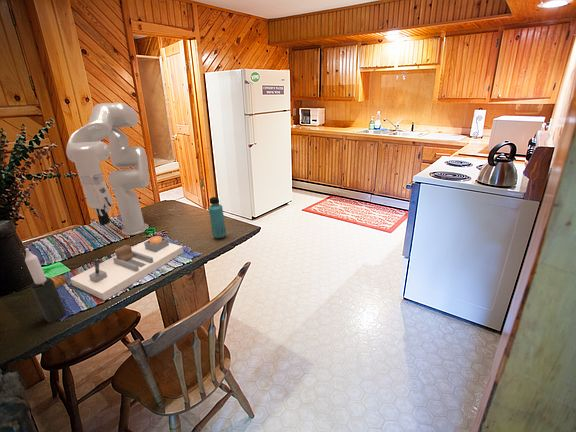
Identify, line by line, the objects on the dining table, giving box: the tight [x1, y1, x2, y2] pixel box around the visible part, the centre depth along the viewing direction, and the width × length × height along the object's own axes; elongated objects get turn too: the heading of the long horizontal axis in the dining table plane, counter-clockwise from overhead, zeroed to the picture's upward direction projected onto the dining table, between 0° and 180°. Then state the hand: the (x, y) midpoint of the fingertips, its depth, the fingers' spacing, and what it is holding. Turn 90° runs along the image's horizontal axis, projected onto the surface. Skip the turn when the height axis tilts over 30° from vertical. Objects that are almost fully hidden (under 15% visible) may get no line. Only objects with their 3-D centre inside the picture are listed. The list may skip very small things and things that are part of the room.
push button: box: [148, 235, 163, 245], centre depth 133 cm, size 5×5×4 cm
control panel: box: [70, 237, 184, 302], centre depth 123 cm, size 20×36×6 cm, turn 151°
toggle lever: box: [93, 258, 101, 274], centre depth 110 cm, size 2×2×7 cm
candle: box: [24, 247, 67, 324], centre depth 94 cm, size 5×5×25 cm
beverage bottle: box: [208, 196, 227, 239], centre depth 142 cm, size 6×7×20 cm
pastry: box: [49, 275, 68, 289], centre depth 114 cm, size 9×7×4 cm
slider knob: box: [114, 244, 134, 261], centre depth 123 cm, size 3×5×5 cm, turn 151°
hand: (105, 223), depth 122 cm, fingers closed
